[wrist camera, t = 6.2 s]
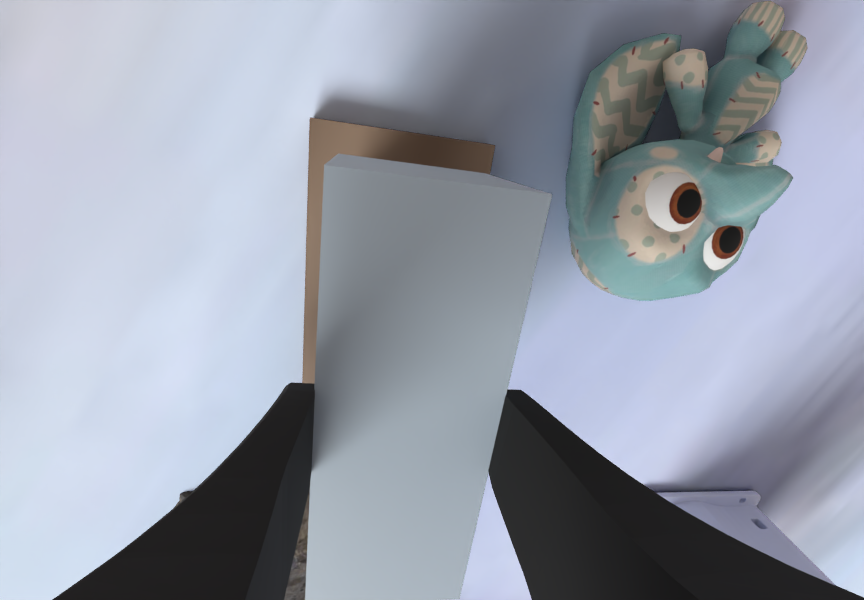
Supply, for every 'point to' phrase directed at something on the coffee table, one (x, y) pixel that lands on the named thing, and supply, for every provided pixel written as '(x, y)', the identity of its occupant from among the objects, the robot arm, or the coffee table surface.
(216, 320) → the coffee table surface
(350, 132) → the peg stand
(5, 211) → the coffee table surface
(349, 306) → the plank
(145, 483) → the coffee table surface
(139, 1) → the coffee table surface
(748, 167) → the stuffed animal
